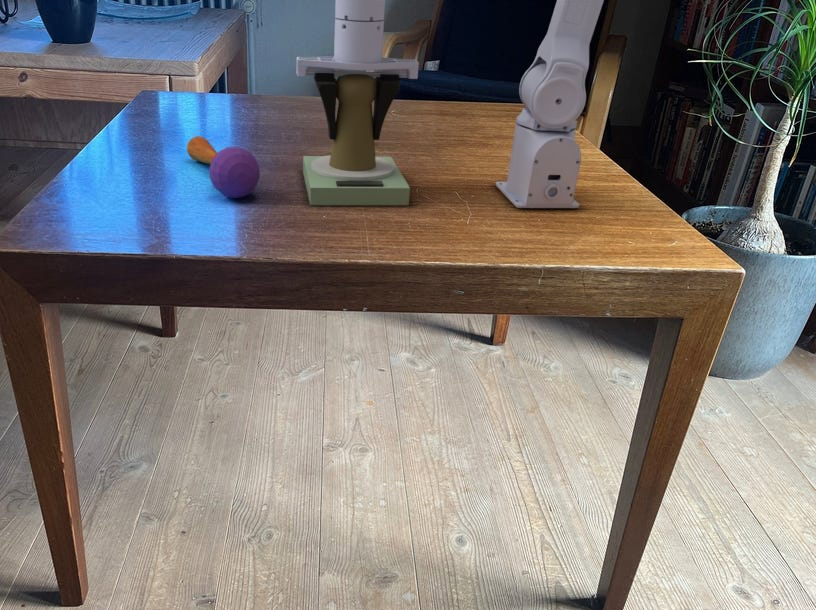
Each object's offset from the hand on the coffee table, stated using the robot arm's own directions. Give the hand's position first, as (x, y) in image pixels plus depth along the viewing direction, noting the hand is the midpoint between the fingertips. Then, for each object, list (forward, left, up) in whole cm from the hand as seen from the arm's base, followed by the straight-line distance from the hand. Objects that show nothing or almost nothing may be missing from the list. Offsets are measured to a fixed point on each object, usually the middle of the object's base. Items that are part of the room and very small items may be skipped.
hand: (353, 137), depth 92 cm
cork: (0, 0, -4) cm, 4 cm away
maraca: (+2, +17, -6) cm, 18 cm away
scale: (-1, 0, -6) cm, 6 cm away
